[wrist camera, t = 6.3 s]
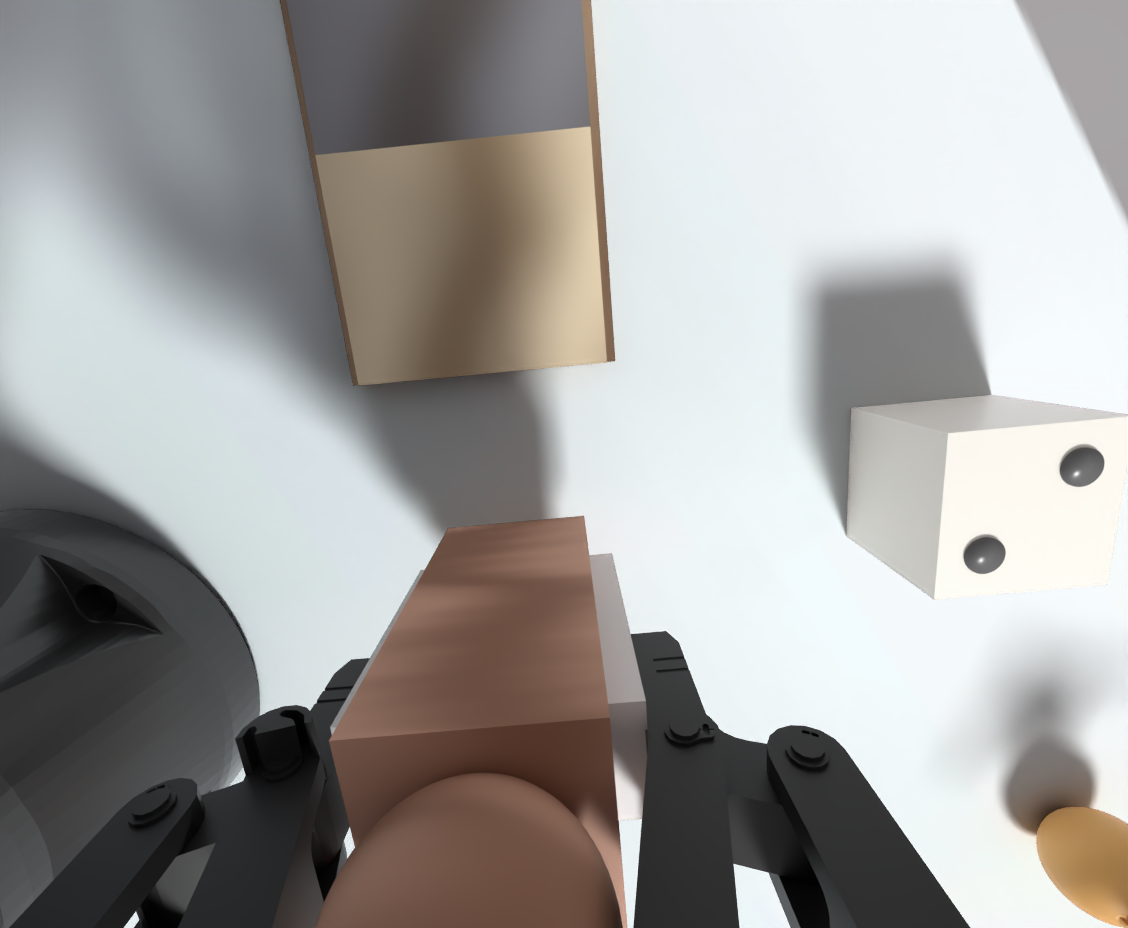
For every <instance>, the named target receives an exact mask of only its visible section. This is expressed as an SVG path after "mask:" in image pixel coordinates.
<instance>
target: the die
mask: <svg viewBox="0 0 1128 928" xmlns="http://www.w3.org/2000/svg"><path fill="white" fill-rule="evenodd" d="M1127 468H1128V414H1121V413H1114V412H1107V411H1100V410H1093V409H1086V408H1080V407H1073V406H1066V405H1059V404H1052V403H1045V402H1038V401H1031V400H1024V399H1017V398H1010V397H1004V396H997V395H983V396H973V397H962V398H951V399H941V400H930V401H920V402H909V403H899V404H888V405H877V406H867V407H856V408H851V429H850V455H849V480H848V506H847V531H846V536H847V537H848V538H849V539H851V540H852V541H853V542H855V543H856V544H858V545H859V546H860V547H862V548H863V549H865V550H866V551H867V552H869V553H870V554H872V555H873V556H874V557H876V558H877V559H878V560H880V561H881V562H883V563H884V564H885V565H887V566H888V567H890V568H891V569H892V570H894V571H895V572H896V573H898V574H899V575H901V576H902V577H903V578H905V579H906V580H908V581H909V582H910V583H912V584H913V585H915V586H916V587H917V588H919V589H920V590H921V591H923V592H924V593H926V594H927V595H928V596H930V597H931V598H933V599H934V600H936V599H948V598H959V597H971V596H983V595H994V594H1006V593H1017V592H1029V591H1041V590H1052V589H1064V588H1076V587H1087V586H1099V585H1107V584H1108V578H1109V572H1110V567H1111V561H1112V555H1113V549H1114V543H1115V538H1116V532H1117V526H1118V520H1119V514H1120V509H1121V503H1122V497H1123V491H1124V485H1125V480H1126V474H1127Z"/></svg>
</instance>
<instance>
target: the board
mask: <svg viewBox="0 0 1128 928" xmlns="http://www.w3.org/2000/svg"><path fill="white" fill-rule="evenodd" d="M280 3H281V9H282V14H283V19H284V24H285V30H286V35H287V40H288V45H289V51H290V56H291V61H292V66H293V72H294V77H295V82H296V87H297V93H298V98H299V103H300V108H301V114H302V119H303V124H304V129H305V135H306V140H307V145H308V150H309V156H310V161H311V166H312V171H313V177H314V182H315V187H316V192H317V198H318V203H319V208H320V213H321V219H322V224H323V229H324V234H325V240H326V245H327V250H328V255H329V261H330V266H331V271H332V276H333V282H334V287H335V292H336V298H337V303H338V308H339V313H340V319H341V324H342V329H343V334H344V340H345V345H346V350H347V355H348V361H349V366H350V371H351V376H352V382H353V386H354V385H359V386H360V385H370V384H381V383H392V382H402V381H413V380H424V379H434V378H445V377H456V376H466V375H477V374H488V373H498V372H509V371H520V370H530V369H541V368H552V367H562V366H573V365H584V364H594V363H605V362H610V361H615V351H614V336H613V321H612V306H611V292H610V277H609V262H608V247H607V232H606V217H605V202H604V187H603V172H602V157H601V142H600V128H599V113H598V98H597V83H596V68H595V53H594V38H593V23H592V8H591V0H280Z"/></svg>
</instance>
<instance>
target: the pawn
mask: <svg viewBox="0 0 1128 928" xmlns="http://www.w3.org/2000/svg"><path fill="white" fill-rule="evenodd" d="M329 743H330V747H331V752H332V756H333V760H334V764H335V768H336V772H337V776H338V780H339V784H340V788H341V792H342V796H343V800H344V804H345V808H346V813H347V817H348V821H349V825H350V829H351V833H352V837H353V841H354V845H355V849H354V850H353V851H352V853H351V854H350V856H349V857H348V859H347V861H346V862H345V864H344V865H343V867H342V868H341V870H340V872H339V874H338V875H337V877H336V879H335V881H334V882H333V885H332V887H331V889H330V891H329V893H328V895H327V897H326V899H325V901H324V903H323V906H322V909H321V912H320V914H319V917H318V920H317V923H316V926H315V928H627V917H626V905H625V893H624V881H623V869H622V857H621V845H620V833H619V821H618V809H617V797H616V785H615V773H614V760H613V748H612V736H611V724H610V714H609V706H608V699H607V691H606V683H605V675H604V667H603V660H602V652H601V644H600V636H599V629H598V621H597V613H596V605H595V597H594V590H593V582H592V574H591V566H590V559H589V551H588V543H587V535H586V528H585V520H584V516H578V517H566V518H555V519H544V520H533V521H522V522H511V523H499V524H488V525H477V526H466V527H455V528H448V530H447V531H446V533H445V535H444V537H443V538H442V540H441V542H440V544H439V546H438V547H437V549H436V551H435V553H434V554H433V556H432V558H431V560H430V562H429V563H428V565H427V567H426V569H425V571H424V572H423V574H422V576H421V578H420V579H419V581H418V583H417V585H416V587H415V588H414V590H413V592H412V594H411V595H410V597H409V599H408V601H407V603H406V604H405V606H404V608H403V610H402V611H401V613H400V615H399V617H398V619H397V620H396V622H395V624H394V626H393V628H392V629H391V631H390V633H389V635H388V636H387V638H386V640H385V642H384V644H383V645H382V647H381V649H380V651H379V652H378V654H377V656H376V658H375V660H374V661H373V663H372V665H371V667H370V668H369V670H368V672H367V674H366V676H365V677H364V679H363V681H362V683H361V685H360V686H359V688H358V690H357V692H356V693H355V695H354V697H353V699H352V701H351V702H350V704H349V706H348V708H347V709H346V711H345V713H344V715H343V717H342V718H341V720H340V722H339V724H338V725H337V727H336V729H335V731H334V733H333V734H332V736H331V738H330V740H329Z"/></svg>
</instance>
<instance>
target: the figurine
mask: <svg viewBox="0 0 1128 928" xmlns="http://www.w3.org/2000/svg"><path fill="white" fill-rule="evenodd" d="M1036 844H1037V851H1038V855H1039V858H1040V861H1041V864H1042V866H1043V868H1044V870H1045V872H1046V873H1047V875H1048V877H1049V878H1050V879H1051V881H1052V882H1053V884H1054V885H1055V886H1056V887H1057V888H1058V890H1059V891H1060V892H1061V893H1062V894H1063V895H1064V896H1065V897H1066V898H1067V899H1068V900H1070V901H1071V902H1072V903H1073V904H1074V905H1076V906H1077V907H1078V908H1080V909H1081V910H1083V911H1084V912H1086V913H1088V914H1089V915H1091V916H1093V917H1095V918H1097V919H1099V920H1101V921H1103V922H1106V923H1109V924H1111V925H1115V926H1119V927H1123V928H1128V824H1127V823H1126V822H1124V821H1122V820H1120V819H1119V818H1117V817H1115V816H1112V815H1110V814H1108V813H1105V812H1102V811H1099V810H1096V809H1092V808H1087V807H1065V808H1061V809H1058V810H1055V811H1053V812H1052V813H1050V814H1049V815H1047V816H1046V817H1045V818H1044V819H1043V821H1042V822H1041V824H1040V826H1039V828H1038V831H1037V838H1036Z"/></svg>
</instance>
